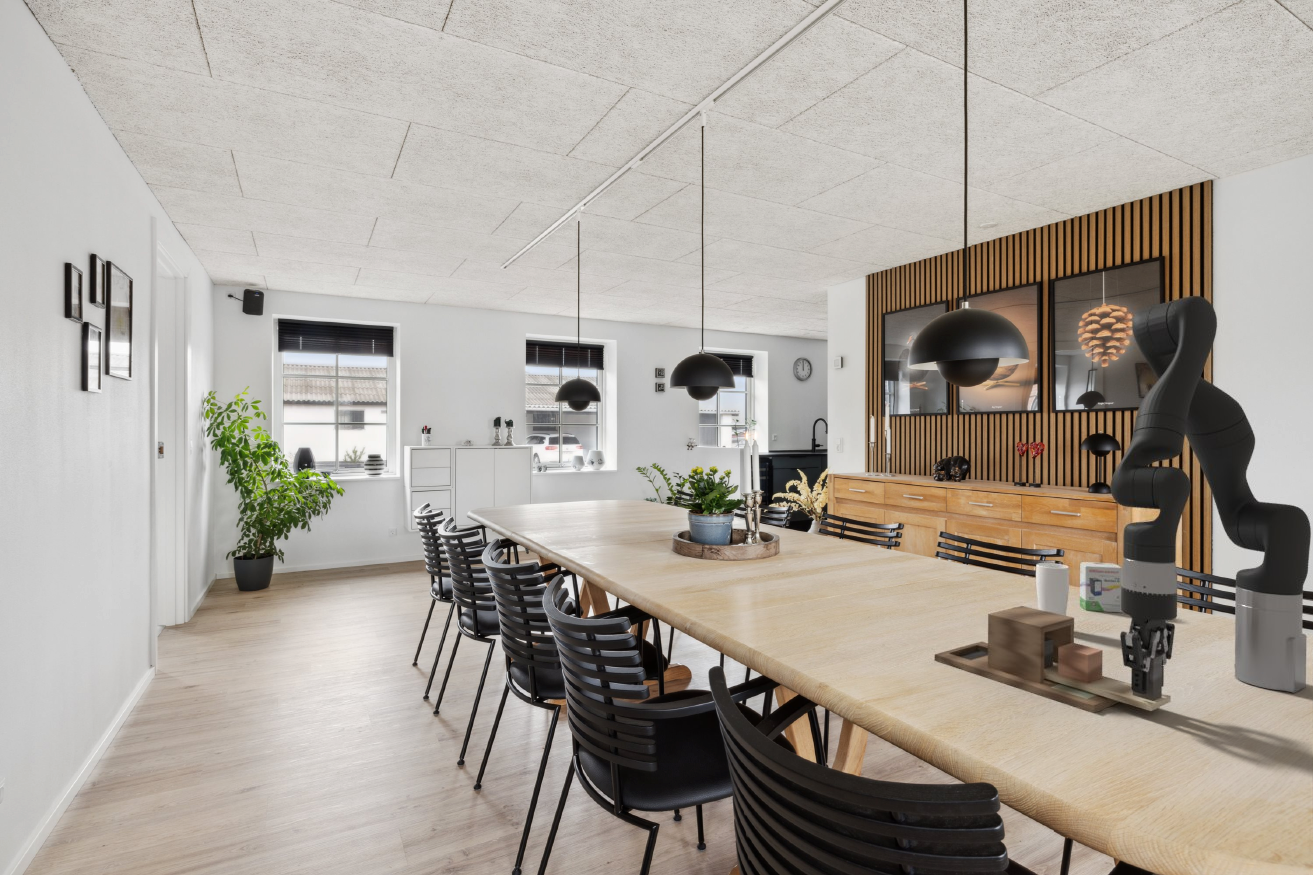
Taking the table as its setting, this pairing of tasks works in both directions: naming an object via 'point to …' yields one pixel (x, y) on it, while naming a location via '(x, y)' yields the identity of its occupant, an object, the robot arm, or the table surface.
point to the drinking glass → (1052, 587)
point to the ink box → (1100, 587)
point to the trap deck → (1024, 655)
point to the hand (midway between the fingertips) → (1147, 688)
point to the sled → (1100, 675)
